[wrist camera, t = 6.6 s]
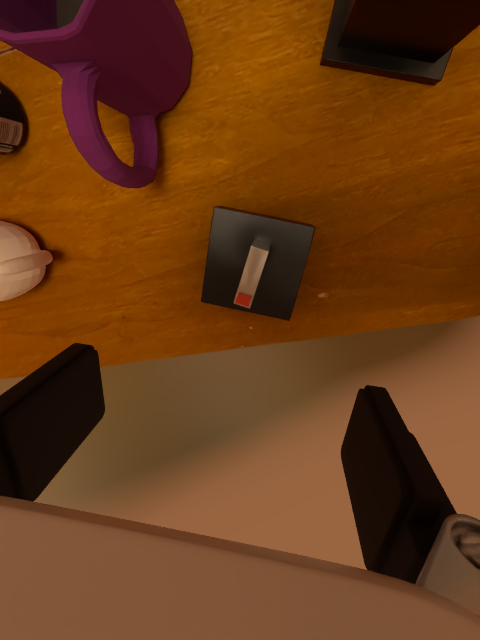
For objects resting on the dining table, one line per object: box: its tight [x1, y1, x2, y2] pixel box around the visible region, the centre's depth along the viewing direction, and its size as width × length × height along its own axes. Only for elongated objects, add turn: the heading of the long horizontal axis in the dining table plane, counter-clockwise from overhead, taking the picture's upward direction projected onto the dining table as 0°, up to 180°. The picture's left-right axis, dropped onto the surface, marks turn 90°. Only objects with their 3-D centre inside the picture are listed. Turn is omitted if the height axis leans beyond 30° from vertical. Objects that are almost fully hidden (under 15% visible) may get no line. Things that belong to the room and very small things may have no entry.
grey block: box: [234, 239, 270, 308], centre depth 28 cm, size 6×2×5 cm, turn 163°
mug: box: [0, 0, 192, 188], centre depth 21 cm, size 9×16×15 cm, turn 2°
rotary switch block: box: [201, 206, 315, 321], centre depth 32 cm, size 10×10×3 cm
